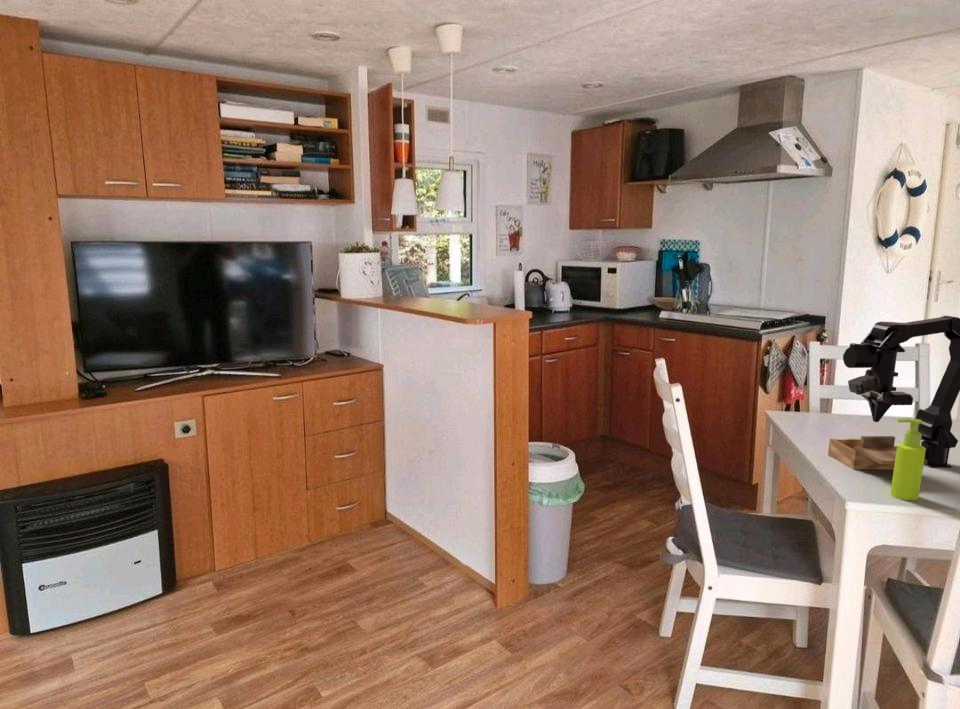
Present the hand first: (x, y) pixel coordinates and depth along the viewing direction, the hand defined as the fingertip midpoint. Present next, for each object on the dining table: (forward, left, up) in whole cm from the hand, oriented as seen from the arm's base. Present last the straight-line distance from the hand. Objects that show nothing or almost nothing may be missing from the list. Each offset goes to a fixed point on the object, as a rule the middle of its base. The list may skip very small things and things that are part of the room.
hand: (875, 421), depth 181 cm
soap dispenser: (+7, +22, -13) cm, 26 cm away
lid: (+1, +8, -8) cm, 11 cm away
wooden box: (+1, -3, -13) cm, 13 cm away
